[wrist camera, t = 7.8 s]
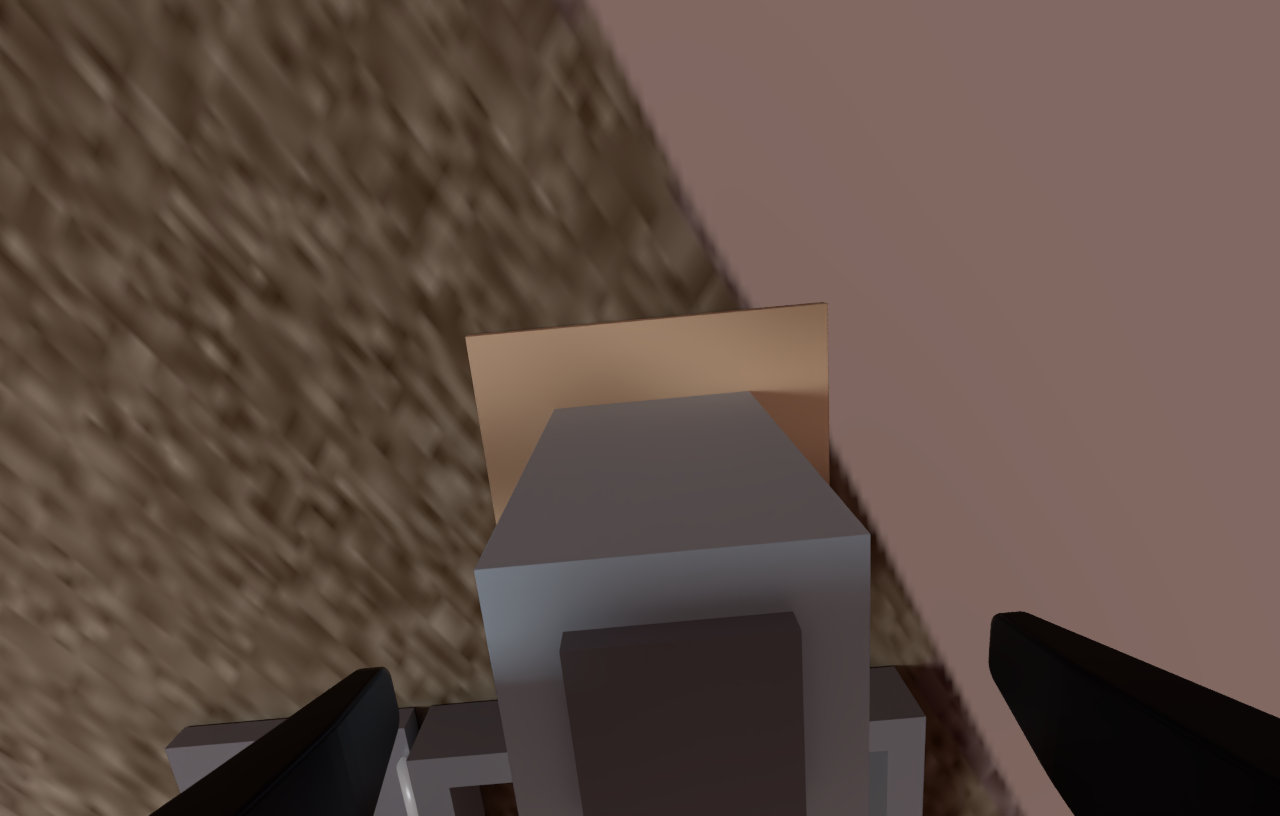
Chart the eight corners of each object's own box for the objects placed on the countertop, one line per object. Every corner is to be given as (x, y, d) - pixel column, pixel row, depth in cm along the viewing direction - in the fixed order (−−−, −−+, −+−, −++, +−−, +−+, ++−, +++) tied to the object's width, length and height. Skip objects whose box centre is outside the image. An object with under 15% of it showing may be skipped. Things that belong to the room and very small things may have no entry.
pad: (826, 613, 17) (830, 621, 17) (519, 640, 17) (517, 649, 17) (822, 302, 15) (827, 303, 15) (469, 334, 15) (465, 337, 15)
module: (757, 566, 16) (880, 872, 8) (577, 582, 16) (524, 902, 8) (748, 391, 15) (883, 549, 7) (554, 409, 15) (465, 587, 7)
